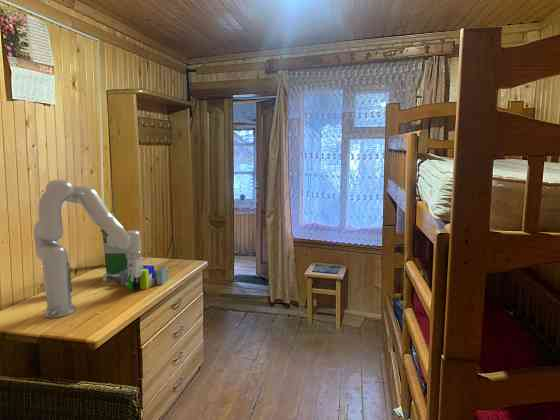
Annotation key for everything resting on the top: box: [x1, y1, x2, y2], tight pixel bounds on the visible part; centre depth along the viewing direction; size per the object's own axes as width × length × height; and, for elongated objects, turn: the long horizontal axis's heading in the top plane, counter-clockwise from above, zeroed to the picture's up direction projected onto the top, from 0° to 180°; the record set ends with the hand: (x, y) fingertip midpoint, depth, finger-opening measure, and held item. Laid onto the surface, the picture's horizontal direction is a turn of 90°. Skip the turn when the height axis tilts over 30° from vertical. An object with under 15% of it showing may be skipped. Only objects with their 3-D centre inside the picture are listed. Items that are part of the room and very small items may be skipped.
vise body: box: [113, 265, 169, 286], centre depth 212 cm, size 12×30×8 cm, turn 92°
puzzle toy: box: [128, 264, 156, 290], centre depth 206 cm, size 10×10×10 cm
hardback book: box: [102, 236, 128, 280], centre depth 222 cm, size 18×7×24 cm, turn 84°
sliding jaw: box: [102, 267, 129, 287], centre depth 211 cm, size 9×12×8 cm
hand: (136, 289), depth 198 cm, fingers closed
